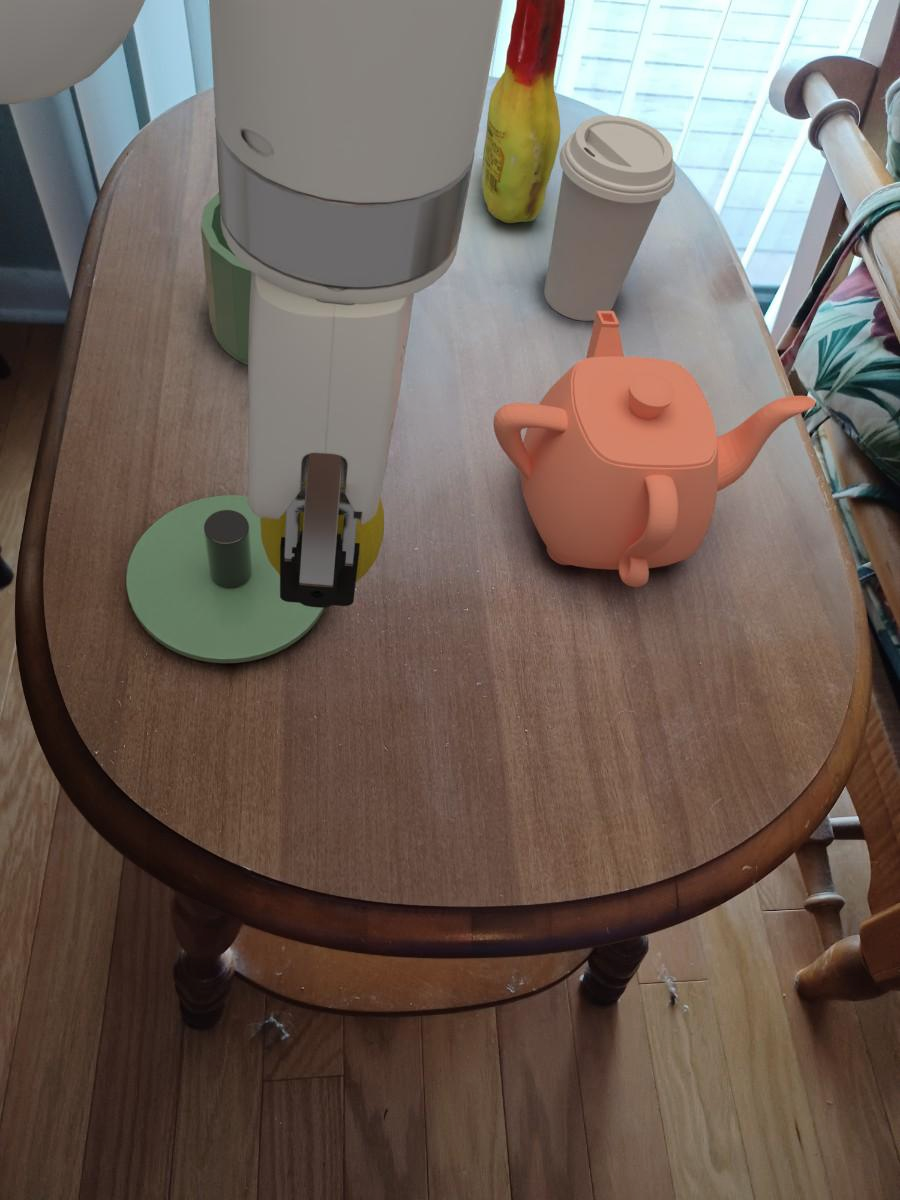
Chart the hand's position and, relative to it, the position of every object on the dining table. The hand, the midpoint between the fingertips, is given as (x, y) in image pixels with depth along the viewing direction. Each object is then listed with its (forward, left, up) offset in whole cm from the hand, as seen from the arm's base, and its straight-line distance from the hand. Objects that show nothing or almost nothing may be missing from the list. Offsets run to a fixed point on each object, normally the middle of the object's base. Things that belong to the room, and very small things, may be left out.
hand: (321, 539), depth 44 cm
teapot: (+22, +20, -20) cm, 35 cm away
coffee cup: (+22, +45, -20) cm, 54 cm away
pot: (-4, +38, -20) cm, 43 cm away
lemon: (0, 0, -3) cm, 3 cm away
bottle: (+16, +59, -20) cm, 64 cm away
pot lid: (-6, +11, -19) cm, 23 cm away
